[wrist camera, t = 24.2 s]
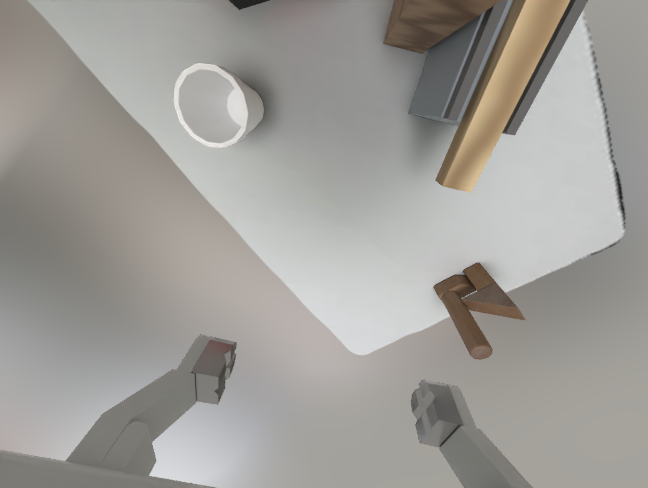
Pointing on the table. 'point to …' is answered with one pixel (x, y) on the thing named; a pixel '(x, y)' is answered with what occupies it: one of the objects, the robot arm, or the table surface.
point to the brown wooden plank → (430, 21)
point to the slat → (499, 89)
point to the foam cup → (216, 105)
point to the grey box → (480, 66)
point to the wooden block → (475, 305)
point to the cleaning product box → (246, 3)
